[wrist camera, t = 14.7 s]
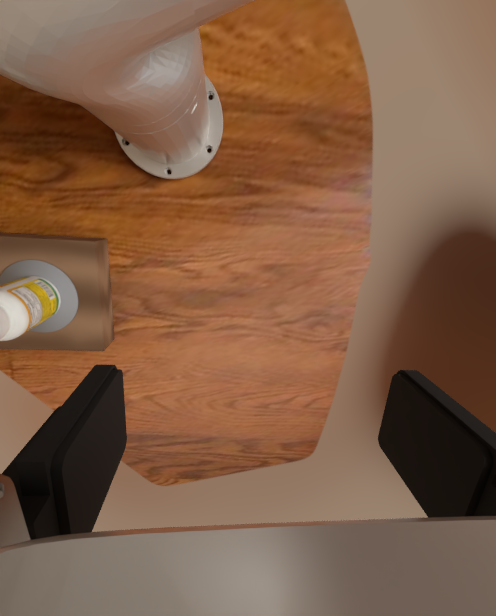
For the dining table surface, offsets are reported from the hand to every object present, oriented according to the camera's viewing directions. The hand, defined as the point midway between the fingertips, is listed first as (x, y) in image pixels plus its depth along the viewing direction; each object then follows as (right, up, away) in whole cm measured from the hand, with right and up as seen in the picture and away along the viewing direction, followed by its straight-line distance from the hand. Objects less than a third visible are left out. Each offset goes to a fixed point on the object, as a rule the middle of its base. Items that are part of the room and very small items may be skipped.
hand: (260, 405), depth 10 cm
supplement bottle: (-26, +5, +26) cm, 37 cm away
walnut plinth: (-26, +6, +30) cm, 40 cm away
